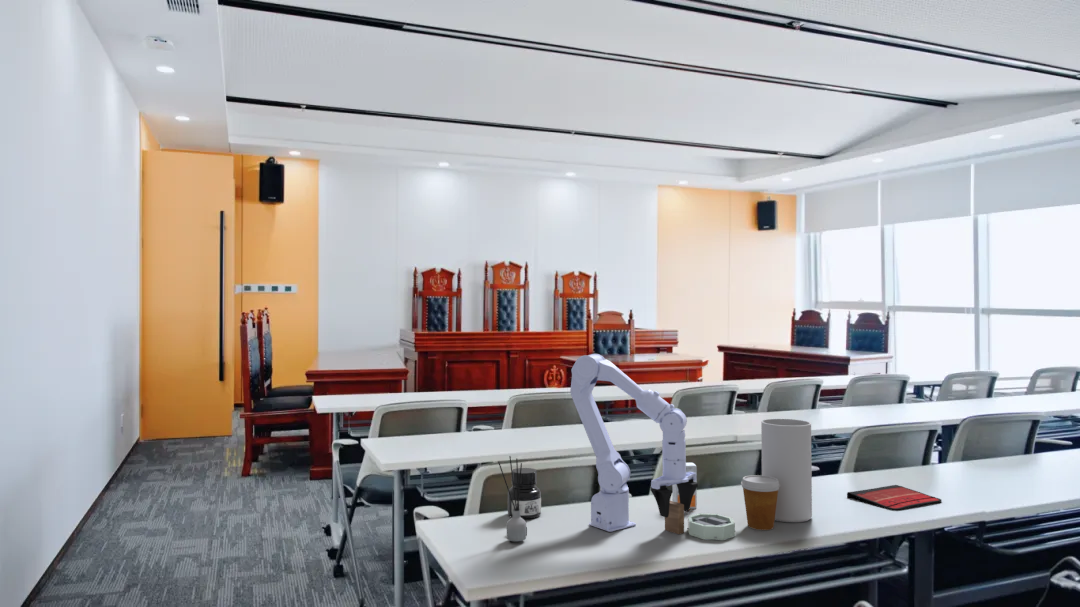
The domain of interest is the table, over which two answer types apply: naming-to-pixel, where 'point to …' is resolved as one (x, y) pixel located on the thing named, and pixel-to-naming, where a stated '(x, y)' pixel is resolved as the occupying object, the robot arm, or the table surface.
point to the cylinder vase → (789, 466)
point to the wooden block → (675, 518)
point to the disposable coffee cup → (760, 500)
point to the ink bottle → (525, 494)
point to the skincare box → (693, 468)
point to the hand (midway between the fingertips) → (674, 513)
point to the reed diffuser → (515, 513)
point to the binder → (893, 497)
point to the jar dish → (711, 526)
